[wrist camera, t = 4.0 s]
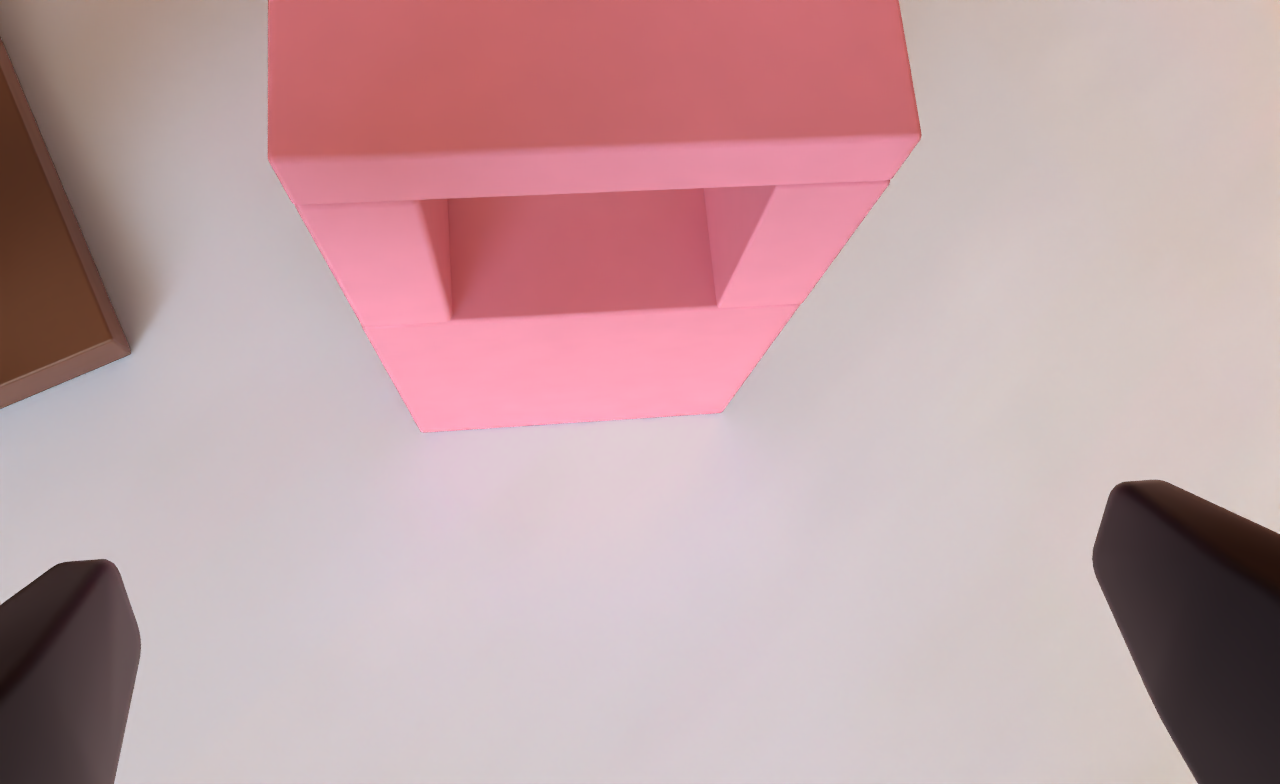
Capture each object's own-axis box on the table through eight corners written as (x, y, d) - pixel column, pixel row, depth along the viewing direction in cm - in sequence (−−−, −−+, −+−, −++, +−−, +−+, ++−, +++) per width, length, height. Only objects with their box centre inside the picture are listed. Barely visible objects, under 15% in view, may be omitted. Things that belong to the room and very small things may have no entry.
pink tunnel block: (722, 413, 22) (925, 138, 10) (420, 433, 21) (265, 161, 9) (712, 316, 22) (893, -51, 11) (416, 332, 22) (265, -42, 10)
